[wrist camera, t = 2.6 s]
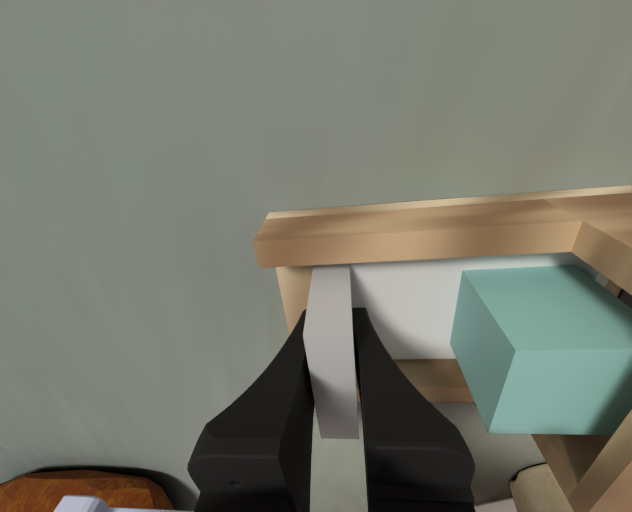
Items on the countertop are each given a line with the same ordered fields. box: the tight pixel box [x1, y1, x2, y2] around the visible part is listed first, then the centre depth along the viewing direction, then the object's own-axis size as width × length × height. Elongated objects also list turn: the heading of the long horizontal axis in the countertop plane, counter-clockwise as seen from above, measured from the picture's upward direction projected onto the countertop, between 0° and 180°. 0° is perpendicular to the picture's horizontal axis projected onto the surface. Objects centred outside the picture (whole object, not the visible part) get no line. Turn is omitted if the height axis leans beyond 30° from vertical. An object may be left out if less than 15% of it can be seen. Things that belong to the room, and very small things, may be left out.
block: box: [450, 265, 632, 435], centre depth 12 cm, size 4×4×4 cm
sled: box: [303, 252, 609, 439], centre depth 12 cm, size 12×7×5 cm, turn 96°
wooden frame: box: [253, 185, 632, 512], centre depth 12 cm, size 18×10×8 cm, turn 96°
